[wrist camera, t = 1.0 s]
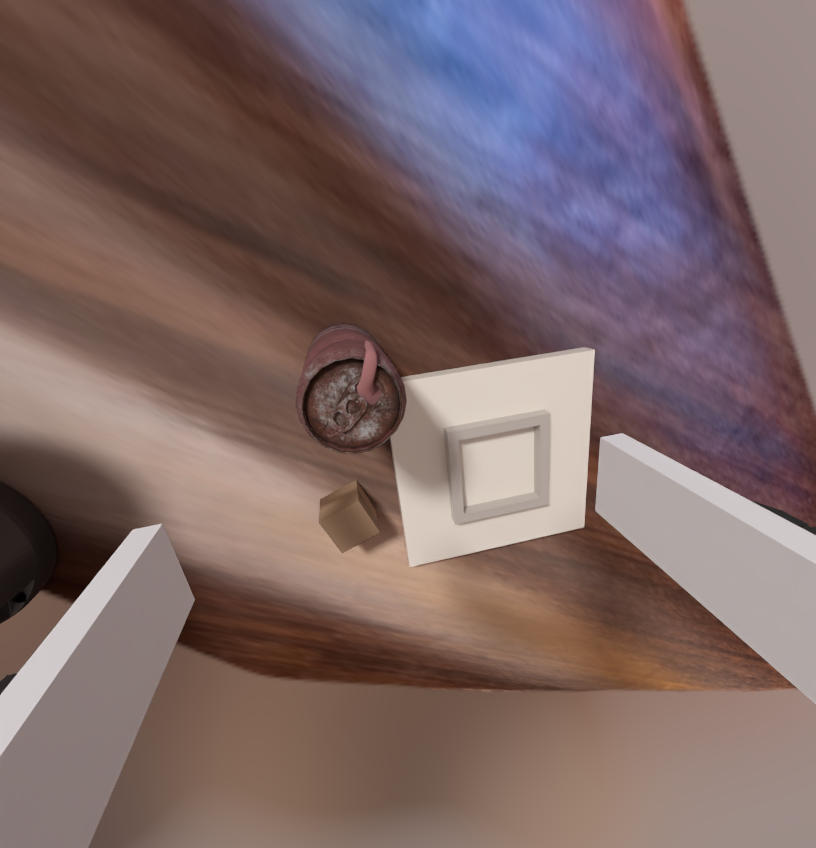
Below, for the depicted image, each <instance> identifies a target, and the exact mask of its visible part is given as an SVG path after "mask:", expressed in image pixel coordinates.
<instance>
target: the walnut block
mask: <svg viewBox="0 0 816 848" xmlns="http://www.w3.org/2000/svg"><path fill="white" fill-rule="evenodd" d="M319 523H320V525H321V526H322V527H323V529H324V530H325V531H326V533H327V534H328V535H329V537H330V538H331V539H332V541H333V542H334V543H335V544H336V546H337V547H338V548H339V550H340V551H341V552H342V553H344V552H345V551H347V550H349V549H351V548H353V547H355V546H356V545H358V544H360V543H362V542H364V541H366V540H367V539H369V538H371V537H373V536H375V535H377V534H378V533H380V530H379V524H378V519H377V513H376V509H375V507H374V506H373V504H372V503H371V501H370V500H369V498H368V497H367V495H366V494H365V492H364V491H363V489H362V488H361V486H360V485H359V483H358V482H357V480H355V481H353V482H351V483H349V484H348V485H346V486H344V487H342V488H340V489H339V490H337V491H335V492H333V493H331V494H329V495H328V496H326V497H324V498H322V499H320V513H319Z"/></svg>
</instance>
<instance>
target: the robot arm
mask: <svg viewBox="0 0 816 848" xmlns="http://www.w3.org/2000/svg"><path fill="white" fill-rule="evenodd" d="M595 511H596V512H597V513H598V514H600V515H601V516H602V517H603V518H604V519H605V520H606V521H608V522H609V523H610V524H611V525H612V526H613V527H614V528H616V529H617V530H618V531H619V532H620V533H621V534H622V535H624V536H625V537H626V538H627V539H628V540H629V541H630V542H632V543H633V544H634V545H635V546H636V547H637V548H638V549H639V550H641V551H642V552H643V553H644V554H645V555H646V556H647V557H649V558H650V559H651V560H652V561H653V562H654V563H655V564H657V565H658V566H659V567H660V568H661V569H662V570H663V571H665V572H666V573H667V574H668V575H669V576H670V577H671V578H673V579H674V580H675V581H676V582H677V583H678V584H679V585H681V586H682V587H683V588H684V589H685V590H686V591H687V592H688V593H690V594H691V595H692V596H693V597H694V598H695V599H696V600H698V601H699V602H700V603H701V604H702V605H703V606H704V607H706V608H707V609H708V610H709V611H710V612H711V613H712V614H714V615H715V616H716V617H717V618H718V619H719V620H720V621H722V622H723V623H724V624H725V625H726V626H727V627H728V628H730V629H731V630H732V631H733V632H734V633H735V634H736V635H737V636H739V637H740V638H741V639H742V640H743V641H744V642H745V643H747V644H748V645H749V646H750V647H751V648H752V649H753V650H755V651H756V652H757V653H758V654H759V655H760V656H761V657H763V658H764V659H765V660H766V661H767V662H768V663H769V664H771V665H772V666H773V667H774V668H775V669H776V670H777V671H778V672H780V673H781V674H782V675H783V676H784V677H785V678H786V679H788V680H789V681H790V682H791V683H792V684H793V685H794V686H796V687H797V688H798V689H799V690H800V691H801V692H803V693H804V694H805V695H806V696H807V697H808V698H809V699H810V700H812V701H813V702H814V703H815V704H816V528H815V527H812V528H810V527H809V525H808V524H807V523H805V522H803V521H801V520H799V519H797V518H795V517H793V516H791V515H789V514H787V513H785V512H784V511H781V510H778V509H775V508H772V507H769V506H766V505H763V504H760V503H757V502H754V501H750V500H748V499H746V498H744V497H742V496H740V495H738V494H737V493H735V492H733V491H731V490H729V489H727V488H725V487H723V486H721V485H719V484H718V483H716V482H714V481H712V480H710V479H708V478H706V477H704V476H702V475H701V474H699V473H697V472H695V471H693V470H691V469H689V468H687V467H685V466H684V465H682V464H680V463H678V462H676V461H674V460H672V459H670V458H668V457H666V456H665V455H663V454H661V453H659V452H657V451H655V450H653V449H651V448H649V447H648V446H646V445H644V444H642V443H640V442H638V441H636V440H634V439H632V438H631V437H629V436H627V435H625V434H623V433H621V434H616V435H611V436H606V437H601V438H600V451H599V465H598V480H597V494H596V508H595ZM56 560H57V548H56V542H55V539H54V536H53V533H52V531H51V529H50V527H49V525H48V524H47V522H46V520H45V519H44V518H43V516H42V515H41V514H40V513H39V511H38V510H37V509H36V508H35V507H34V506H33V505H32V504H31V503H30V502H28V501H27V500H26V499H25V498H24V497H22V496H21V495H20V494H18V493H17V492H15V491H14V490H12V489H11V488H9V487H7V486H5V485H4V484H2V483H0V623H2V622H4V621H5V620H7V619H9V618H10V617H12V616H14V615H15V614H16V613H18V612H19V611H20V610H22V609H23V608H24V607H25V606H26V605H27V604H28V603H29V602H30V601H31V600H32V599H33V598H34V597H35V596H36V595H37V594H38V593H39V591H40V590H41V589H42V588H43V587H44V586H45V585H46V584H47V582H48V581H49V579H50V578H51V576H52V574H53V572H54V569H55V565H56ZM194 601H195V599H194V596H193V594H192V592H191V589H190V587H189V585H188V582H187V580H186V578H185V575H184V573H183V571H182V568H181V566H180V563H179V561H178V559H177V556H176V554H175V552H174V549H173V547H172V545H171V542H170V540H169V537H168V535H167V533H166V530H165V528H164V526H163V524H158V525H153V526H148V527H143V528H138V529H133V530H132V531H131V532H130V534H129V535H128V536H127V537H126V539H125V540H124V541H123V542H122V544H121V545H120V546H119V547H118V549H117V550H116V551H115V552H114V554H113V555H112V556H111V557H110V559H109V560H108V561H107V562H106V564H105V565H104V566H103V567H102V569H101V570H100V571H99V572H98V574H97V575H96V576H95V577H94V579H93V580H92V581H91V582H90V584H89V585H88V586H87V587H86V589H85V590H84V591H83V592H82V594H81V595H80V596H79V597H78V599H77V600H76V601H75V602H74V604H73V605H72V606H71V607H70V609H69V610H68V611H67V612H66V614H65V615H64V616H63V617H62V619H61V620H60V621H59V622H58V623H57V625H56V626H55V627H54V628H53V630H52V631H51V632H50V633H49V635H48V636H47V637H46V639H45V640H44V641H43V642H42V644H41V645H40V646H39V647H38V648H37V650H36V651H35V652H34V654H33V655H32V656H31V657H30V659H29V660H28V661H27V662H26V663H25V665H24V666H23V667H22V668H21V670H20V671H19V672H18V673H16V674H12V675H7V676H6V677H5V678H4V679H3V680H1V681H0V848H88V847H89V844H90V842H91V839H92V837H93V835H94V833H95V830H96V828H97V826H98V823H99V821H100V819H101V816H102V814H103V812H104V809H105V807H106V805H107V803H108V800H109V798H110V796H111V793H112V790H113V789H114V786H115V784H116V782H117V779H118V777H119V774H120V772H121V770H122V768H123V765H124V763H125V761H126V758H127V756H128V754H129V751H130V749H131V747H132V744H133V742H134V740H135V738H136V735H137V733H138V731H139V728H140V726H141V724H142V721H143V719H144V717H145V714H146V712H147V709H148V707H149V705H150V703H151V700H152V698H153V696H154V693H155V691H156V688H157V686H158V684H159V682H160V679H161V677H162V675H163V672H164V670H165V668H166V666H167V663H168V661H169V658H170V656H171V654H172V651H173V649H174V647H175V645H176V642H177V640H178V638H179V635H180V633H181V631H182V628H183V626H184V624H185V621H186V619H187V617H188V614H189V612H190V610H191V607H192V605H193V603H194Z"/></svg>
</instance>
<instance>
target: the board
mask: <svg viewBox="0 0 816 848" xmlns="http://www.w3.org/2000/svg"><path fill="white" fill-rule="evenodd" d="M594 354H595V350H594V349H590V348H586V347H583V348H577V349H571V350H565V351H559V352H552V353H546V354H540V355H534V356H528V357H522V358H516V359H510V360H504V361H497V362H491V363H485V364H479V365H473V366H467V367H461V368H455V369H448V370H442V371H436V372H430V373H424V374H418V375H412V376H406V377H401V379H402V381H403V383H404V385H405V392H406V399H407V403H406V408H405V414H404V418H403V420H402V421H401V423H400V425H399V427H398V429H397V431H396V432H395V433H394V434H393V435H392V436H391V437H390V438H389V439H390V446H391V453H392V459H393V466H394V473H395V479H396V486H397V493H398V500H399V506H400V513H401V520H402V526H403V533H404V540H405V547H406V553H407V559H408V563H409V566H410V567H413V566H417V565H421V564H426V563H430V562H434V561H439V560H443V559H448V558H452V557H456V556H461V555H465V554H469V553H474V552H478V551H483V550H487V549H491V548H496V547H500V546H505V545H509V544H513V543H518V542H522V541H526V540H531V539H535V538H540V537H544V536H548V535H553V534H557V533H561V532H566V531H570V530H575V529H579V528H583V527H584V521H585V504H586V488H587V471H588V454H589V437H590V421H591V404H592V387H593V370H594Z"/></svg>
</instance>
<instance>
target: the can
mask: <svg viewBox="0 0 816 848" xmlns="http://www.w3.org/2000/svg"><path fill="white" fill-rule="evenodd" d="M406 403H407V399H406V392H405V385H404V383H403V381H402V379H401V377H400V375H399V373H398V371H397V369H396V368H395V367H394V365H393V364H392V363H391V361H390V360H389V359H388V357H387V356H386V354H385V353H384V352H383V350H382V349H381V348H380V346H379V345H378V344H377V342H376V341H375V339H374V338H373V337H372V336H371V335H370V334H369V333H368V332H367V331H366V330H364V329H362V328H360V327H358V326H356V325H353V324H347V323H340V324H334V325H331V326H329V327H327V328H325V329H323V330H321V331H320V332H319V333H318V335H317V336H316V337H315V338H314V339H313V341H312V343H311V346H310V348H309V350H308V354H307V357H306V360H305V364H304V367H303V370H302V374H301V377H300V381H299V384H298V387H297V397H296V408H297V412H298V416H299V419H300V422H301V424H302V425H303V427H304V428H305V430H306V431H307V433H308V434H309V436H311V437H312V438H313V439H314V440H316V441H317V442H318V443H319V444H321V445H322V446H324V447H326V448H329V449H332V450H334V451H337V452H339V453H349V454H357V453H362V452H367V451H371V450H373V449H375V448H376V447H378V446H380V445H382V444H384V443H385V442H386V441H387V440H388V439H389V438H390V437H391V436H392V435H393V434H394V433H395V432H396V431H397V429H398V427H399V425H400V423H401V421H402V420H403V418H404V414H405V408H406Z"/></svg>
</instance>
